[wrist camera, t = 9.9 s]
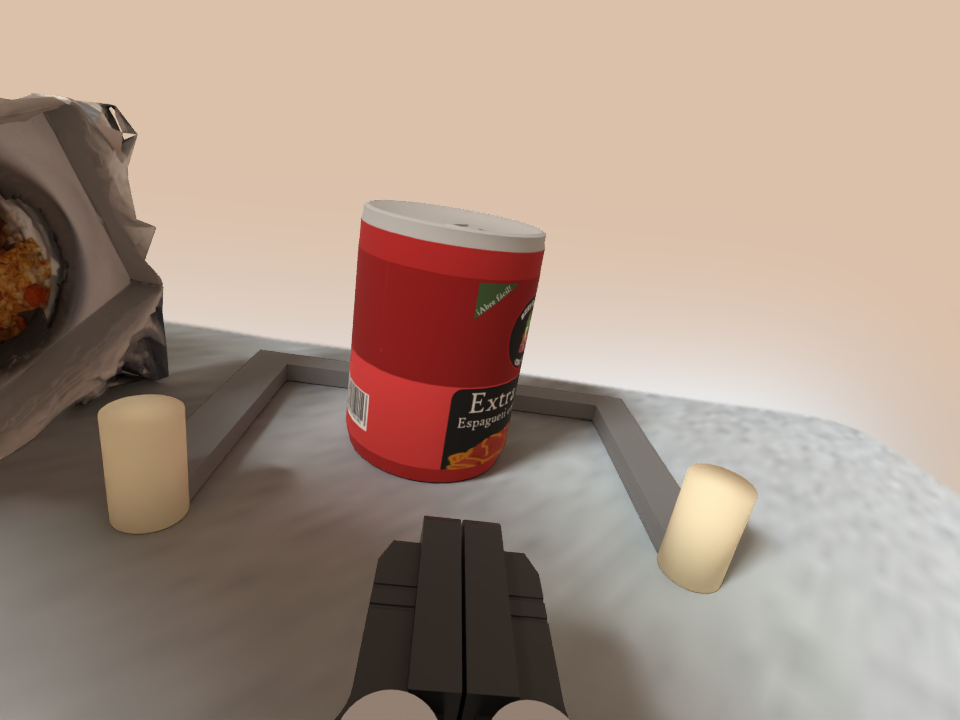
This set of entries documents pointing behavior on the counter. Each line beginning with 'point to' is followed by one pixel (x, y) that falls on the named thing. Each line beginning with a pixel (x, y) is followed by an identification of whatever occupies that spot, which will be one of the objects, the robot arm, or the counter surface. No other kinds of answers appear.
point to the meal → (70, 264)
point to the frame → (233, 407)
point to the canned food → (438, 336)
